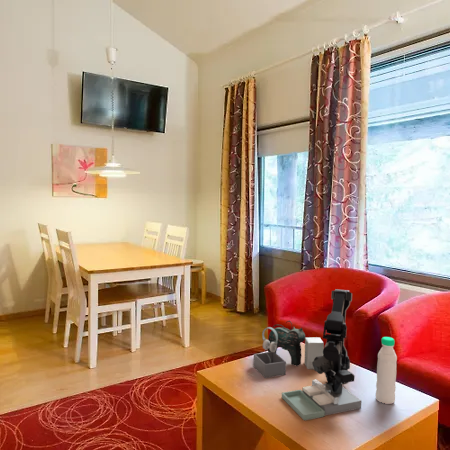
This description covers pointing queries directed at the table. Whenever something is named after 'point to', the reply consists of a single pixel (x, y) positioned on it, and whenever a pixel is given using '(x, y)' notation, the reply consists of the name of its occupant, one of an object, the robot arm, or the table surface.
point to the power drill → (289, 342)
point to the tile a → (311, 390)
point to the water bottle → (386, 372)
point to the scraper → (328, 390)
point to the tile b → (322, 399)
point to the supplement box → (312, 350)
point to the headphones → (267, 343)
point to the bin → (303, 405)
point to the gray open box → (266, 369)
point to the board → (340, 403)
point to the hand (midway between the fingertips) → (332, 389)
